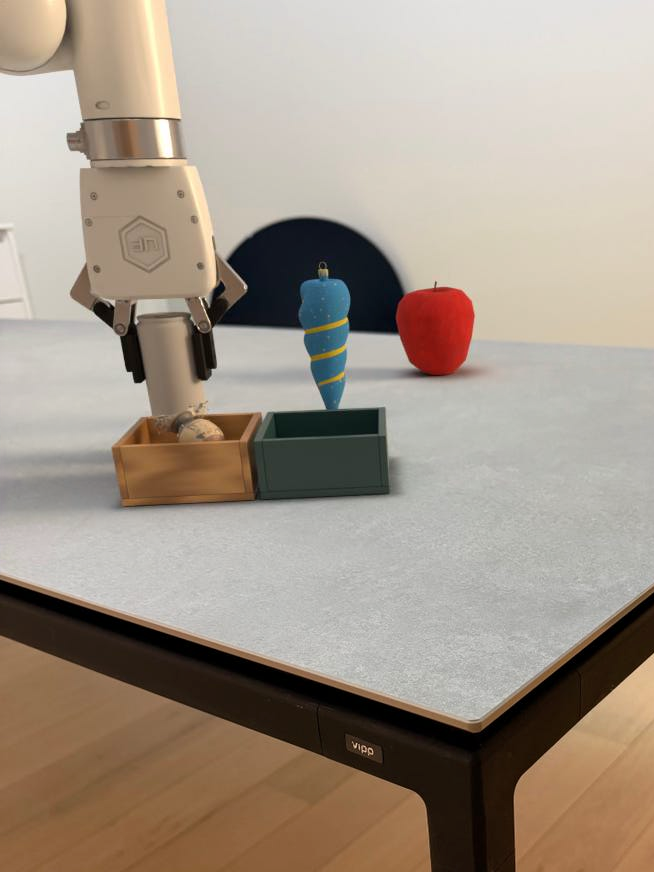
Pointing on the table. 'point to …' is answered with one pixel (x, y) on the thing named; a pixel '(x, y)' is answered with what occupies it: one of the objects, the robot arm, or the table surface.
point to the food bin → (188, 463)
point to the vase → (190, 426)
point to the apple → (436, 328)
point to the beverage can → (170, 362)
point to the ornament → (326, 333)
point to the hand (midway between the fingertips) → (173, 377)
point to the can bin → (323, 453)
